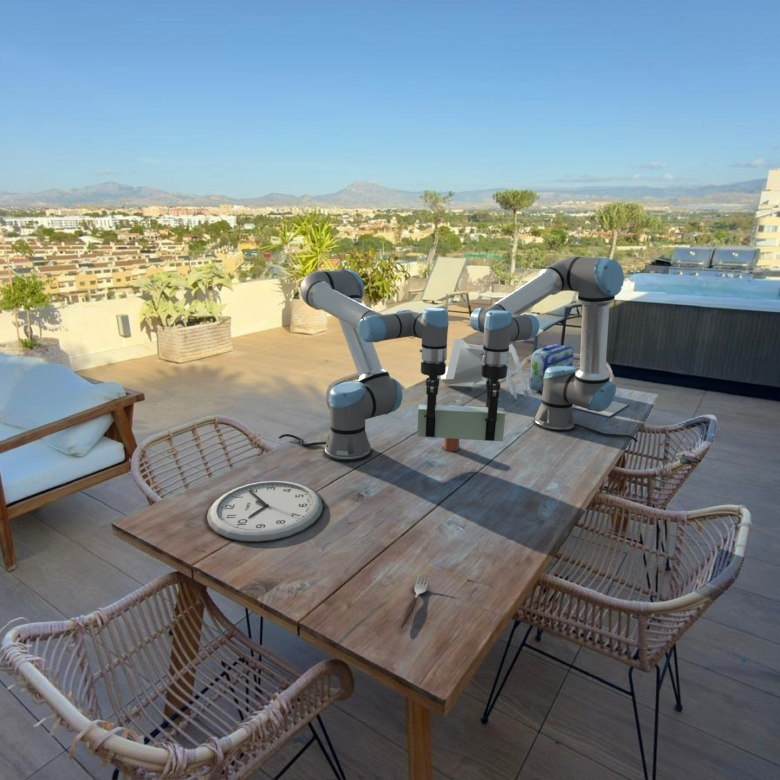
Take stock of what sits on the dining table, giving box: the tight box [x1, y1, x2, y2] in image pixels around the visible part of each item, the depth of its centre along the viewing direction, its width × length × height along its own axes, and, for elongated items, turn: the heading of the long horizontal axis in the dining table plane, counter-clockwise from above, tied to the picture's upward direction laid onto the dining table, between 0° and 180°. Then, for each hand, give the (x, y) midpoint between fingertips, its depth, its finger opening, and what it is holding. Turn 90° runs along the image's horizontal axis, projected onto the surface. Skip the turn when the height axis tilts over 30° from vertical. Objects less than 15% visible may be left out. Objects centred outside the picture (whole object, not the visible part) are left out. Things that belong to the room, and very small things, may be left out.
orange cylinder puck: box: [443, 438, 460, 452], centre depth 180 cm, size 5×5×6 cm
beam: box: [417, 403, 506, 442], centre depth 161 cm, size 26×5×9 cm, turn 83°
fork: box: [400, 570, 431, 629], centre depth 106 cm, size 3×16×2 cm, turn 160°
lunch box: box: [528, 344, 574, 393], centre depth 247 cm, size 26×11×21 cm, turn 134°
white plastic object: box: [440, 338, 531, 400], centre depth 245 cm, size 37×45×31 cm
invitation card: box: [573, 400, 629, 418], centre depth 226 cm, size 21×1×15 cm
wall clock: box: [206, 480, 324, 543], centre depth 140 cm, size 30×2×30 cm
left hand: (430, 432), depth 163 cm, fingers closed on beam, 5 cm apart
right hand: (489, 436), depth 161 cm, fingers closed on beam, 5 cm apart
